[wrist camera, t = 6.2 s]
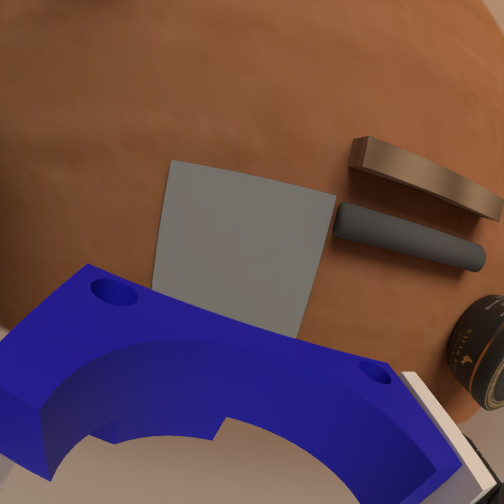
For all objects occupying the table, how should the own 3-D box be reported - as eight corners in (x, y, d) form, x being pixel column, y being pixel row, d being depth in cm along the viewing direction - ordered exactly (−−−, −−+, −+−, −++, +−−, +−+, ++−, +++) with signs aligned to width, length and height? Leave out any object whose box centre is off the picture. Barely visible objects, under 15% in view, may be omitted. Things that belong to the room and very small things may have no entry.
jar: (453, 296, 23) (506, 333, 16) (513, 282, 23) (560, 309, 16) (431, 381, 26) (467, 427, 18) (491, 359, 26) (527, 393, 19)
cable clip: (72, 363, 10) (8, 476, 4) (87, 263, 9) (-26, 369, 3) (333, 434, 12) (374, 535, 6) (387, 363, 11) (463, 464, 5)
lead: (338, 200, 20) (330, 233, 21) (350, 203, 18) (341, 240, 19) (472, 242, 22) (464, 267, 22) (488, 249, 20) (480, 275, 20)
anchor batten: (348, 166, 20) (362, 166, 17) (354, 139, 19) (369, 135, 17) (480, 216, 21) (499, 222, 19) (485, 195, 21) (504, 199, 18)
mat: (149, 333, 22) (147, 337, 22) (173, 160, 19) (171, 159, 18) (287, 358, 23) (288, 361, 23) (334, 195, 20) (336, 195, 20)
